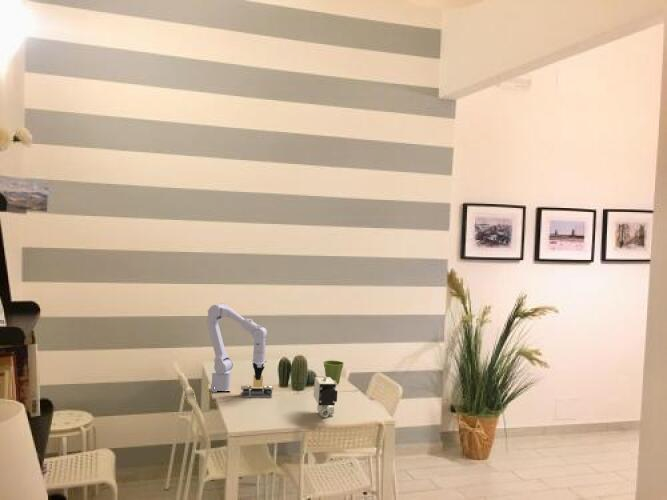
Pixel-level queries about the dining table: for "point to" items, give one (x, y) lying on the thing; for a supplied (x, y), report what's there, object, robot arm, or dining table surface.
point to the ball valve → (325, 395)
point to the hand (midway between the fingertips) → (257, 378)
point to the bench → (257, 392)
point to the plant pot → (333, 369)
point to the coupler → (257, 382)
